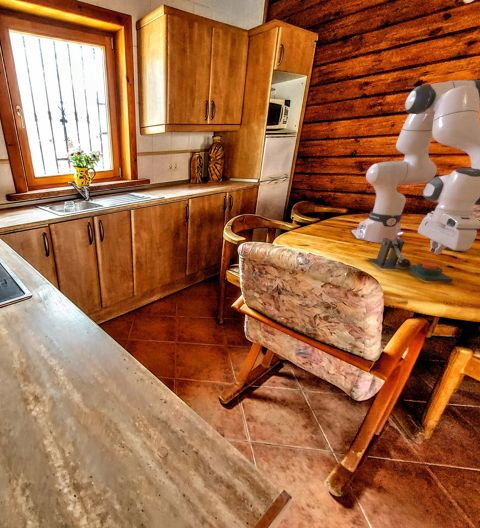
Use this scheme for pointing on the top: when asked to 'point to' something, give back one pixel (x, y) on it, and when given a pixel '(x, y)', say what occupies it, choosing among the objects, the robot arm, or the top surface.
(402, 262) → the lever
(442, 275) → the panel
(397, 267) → the power bracket
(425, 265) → the button
